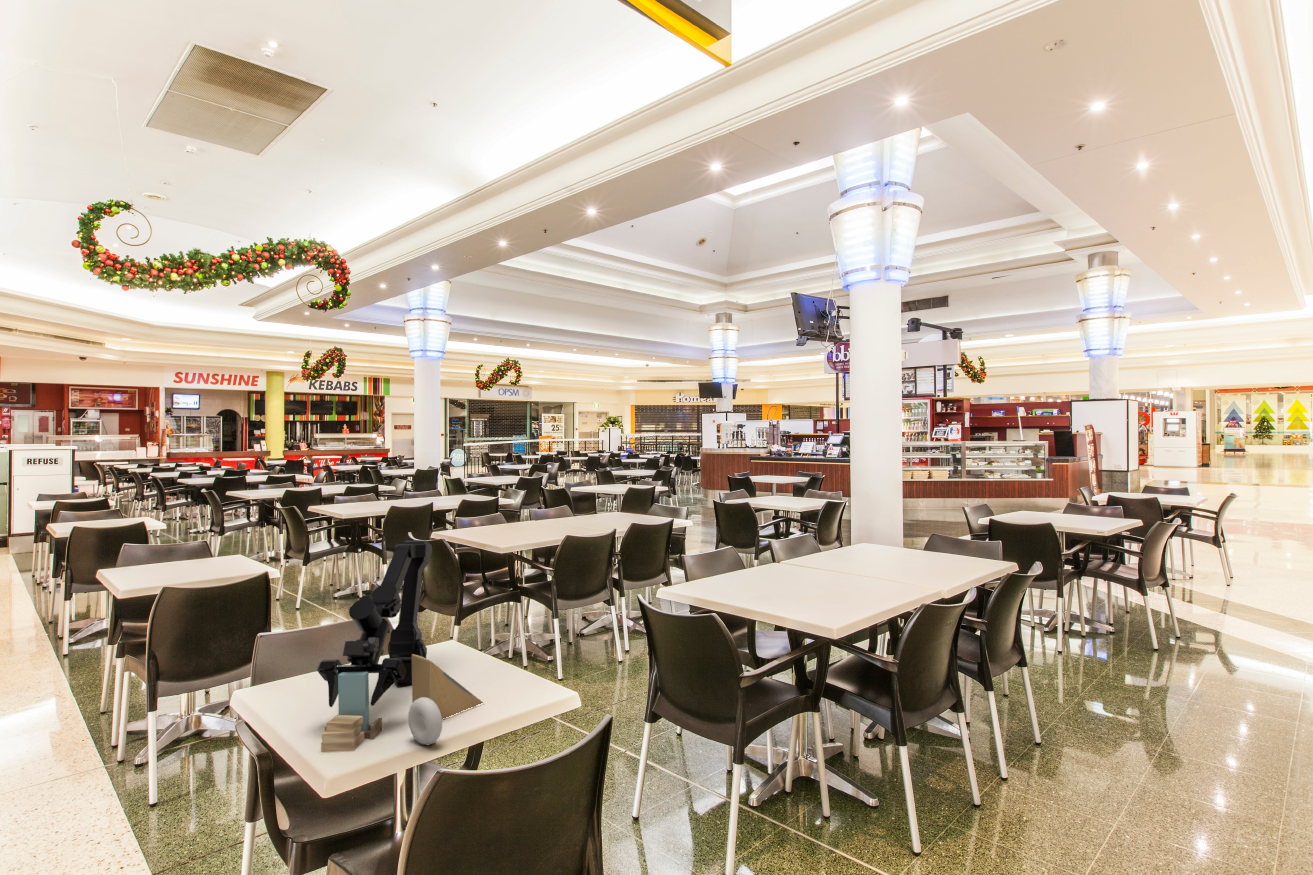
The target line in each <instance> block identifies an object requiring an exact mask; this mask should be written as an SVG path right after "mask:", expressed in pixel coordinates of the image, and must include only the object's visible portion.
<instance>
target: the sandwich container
mask: <svg viewBox="0 0 1313 875" xmlns="http://www.w3.org/2000/svg"><path fill="white" fill-rule="evenodd" d="M411 690H412V691H411V696H412V700H411V701H412V704H413V702H414V701H415V700H417V699H419V698H421V697H426V698H429V699H431V700H433V701H434V702H435V704H436V705H437V706H438V708H439V710H440V713H441V717H442V719H443V718H446V717H449V716H451V715H454V714H456V713H459V712H461V711H463V710H466V709H468V708H471V707H474V706H476V705H478V704H481V703H483V702H484V701H482V700H481V699H479V698H478V697H477V696H476V695H475V694H473V693H472V692H471V691H469V690H468V689H467V688H466V687H464V686H463V685H462V684H460V682H458V681H457V680H455V679H454V678H453V677H452V676H450V675H449V674H448V673H447V672H445V671H444V670H443V669H442V668H441V667H440V666H438V665H437V664H435V663H434V662H433V661H432V660H431V659H428V658H427V657H426V658H424V657H421V656H418V655H414V654H412V685H411ZM454 716H455V715H454ZM449 718H450V717H449ZM446 719H447V718H446ZM443 720H444V719H443Z"/></svg>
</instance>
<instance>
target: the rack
mask: <svg viewBox="0 0 1313 875" xmlns="http://www.w3.org/2000/svg"><path fill="white" fill-rule="evenodd" d="M325 730H326V726H325V727H324V731H325ZM382 731H383V717H381V716H380V717H378V718H377V719H375V721H373V722H372V723H371V724H369V731H361V732H364V740H375V739H376V738H377V737H378V736H379V735H380V734H381V733H382Z"/></svg>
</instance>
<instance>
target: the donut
mask: <svg viewBox="0 0 1313 875" xmlns="http://www.w3.org/2000/svg"><path fill="white" fill-rule="evenodd" d="M407 716H408V717H407V718H408V726H409V730H410V732H411V734H412V737H413V738H414V739H415V741H417V742H418V743H419V744H421V745H424V744H425V746H426V745H427V744H430V745H431V744H435V742H437V740H438V739H439V738H440V736H441V734H442V730H443V720H442V717H441V713H440V710H439V708H438V706H437V705H436V704H435V702H434V701H433V700H431V699H429V698H426V697H421V698H419V699H417V700H415V701H414V702H413V703H412V704H410V706H409V710H408V715H407ZM427 746H428V745H427Z"/></svg>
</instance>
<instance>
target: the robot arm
mask: <svg viewBox="0 0 1313 875" xmlns="http://www.w3.org/2000/svg"><path fill="white" fill-rule="evenodd" d="M392 551H393V552H392V557H391V559H390V562H389V564H388V567H387V570H386V572H385V574H384V577H383V579H382V582H381V584H380V585H379V586H377V587H376V588H375V589H373V591H372V592H371V594H367V595H366V594H365V595H364V594H363V595H362V596H361V597H362V598H361V599H359V600H356V601H355V602H353V604H352V605H351V606H349V610H348V615H349V617H350V618H351V620H352V622H353V623H354V624H355V627H356V628H357V629H358V630H359V631H360V632H361V634H360V636H359V639H356V640H345V641H344V646H343V652H342V657H347V661H348V663H350V664H342V663H341V661H340V660H339V659H323V660H321V661H320V662H319V664H318V666H317V669H316V672H318V674H319V675H320V677H321V679H323V680H324V681H326V682H327V685H328V686H327V687H328V706H329V708H332V707H334V705H335V702H336V701H337V699H338V675H339V674H341V673H342V672H368V673H369V674H378V677H377V682H376V684H375V687H374V690H373V693H372V695H371V698H370V702H369V706H371V707H373V706H375V705H376V703H378V701H379V700H380V699H381V697H382V696H383V695H384V693H386V691H388V690H389V689H390V687H391V686H393V684H396V688H400V687H408V686H412V654H414V655H418V656H421V657H424V658H426V659H427V654H428V648H427V647H426V644H425V642H424V641H423V633H422V631H421V629H420V628H419V625H418V618H419V617H418V615H419V607H420V606H419V605H420V597H421V587H422V576H423V575H422V574H423V571H425V569H426V567H427V566H428V565H429V563H430V558H431V556H432V554H433V546H432V544H431V543H429V541H428V539H427V540H425V539H424V540H404V541H403V543H401V544H396V545H395V546H394V547H393V550H392ZM401 588H402V592H400V590H401ZM400 593H401V596H400ZM398 614H399V618H398V619H399V621H398V624H397V626H396V627H395V628H394V629H392V630H391V628H390V624H389V621H387V619H393V618H396V617H397V615H398ZM388 634H390V638H389V639H390V640H389V642H388V645H387V651H388V657H385V658H384V659H383V660H382V661H381V663H379V661H380V657H381V656H383V655H384V652H385V650H384V649H383V648H384V645H385V641H386V638H387V635H388Z"/></svg>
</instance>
